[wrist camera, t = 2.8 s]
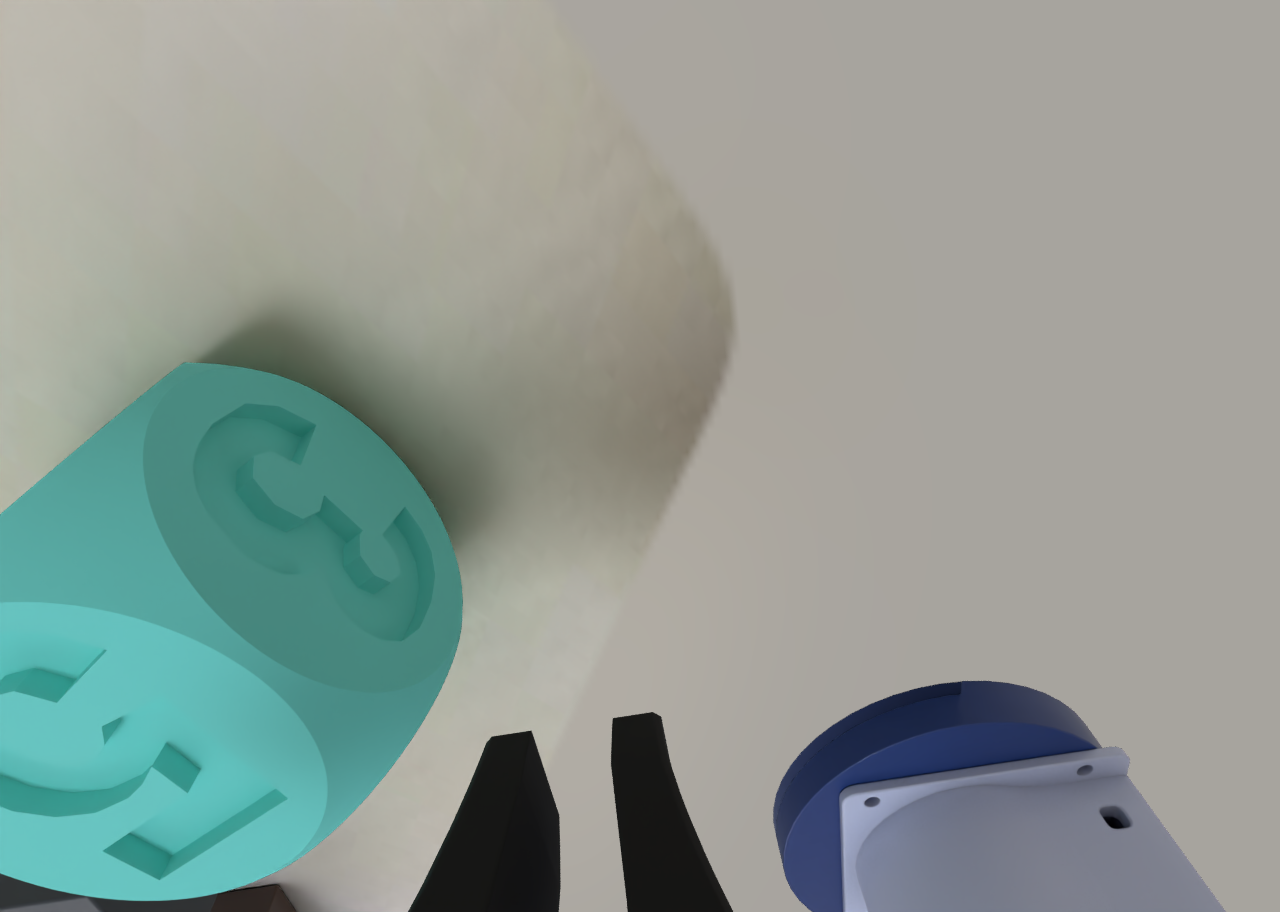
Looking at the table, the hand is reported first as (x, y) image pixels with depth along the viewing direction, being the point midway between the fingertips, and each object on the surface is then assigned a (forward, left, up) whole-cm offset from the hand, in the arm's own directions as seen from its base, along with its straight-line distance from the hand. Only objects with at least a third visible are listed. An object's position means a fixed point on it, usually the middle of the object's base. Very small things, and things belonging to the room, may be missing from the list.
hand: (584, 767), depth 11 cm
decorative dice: (+9, 0, -10) cm, 13 cm away
